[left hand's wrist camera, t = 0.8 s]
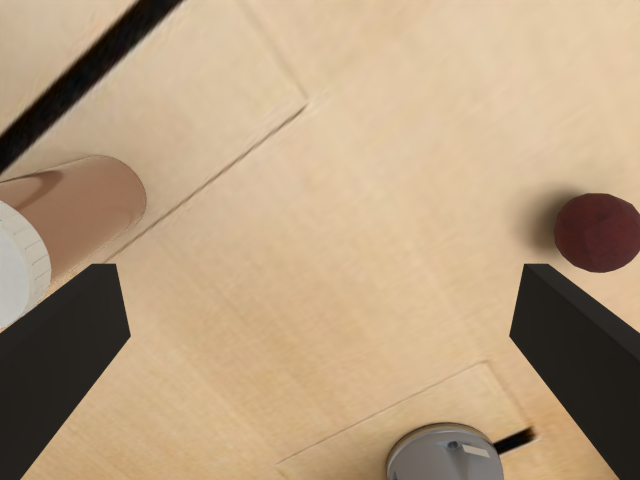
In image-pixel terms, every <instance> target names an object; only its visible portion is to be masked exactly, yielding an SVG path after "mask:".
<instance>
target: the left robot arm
mask: <svg viewBox="0 0 640 480" xmlns="http://www.w3.org/2000/svg"><path fill="white" fill-rule="evenodd" d="M130 337H131V335H130V330H129V325H128V320H127V316H126V311H125V306H124V301H123V296H122V291H121V286H120V282H119V277H118V272H117V267H116V264H91V265H90V266H88V267H87V268H86V269H84V270H83V271H82V272H80V273H79V274H78V275H76V276H75V277H74V278H73V279H71V280H70V281H69V282H67V283H66V284H65V285H63V286H62V287H61V288H59V289H58V290H57V291H55V292H54V293H53V294H51V295H50V296H49V297H47V298H46V299H45V300H44V301H42V302H41V303H40V304H38V305H37V306H36V307H34V308H33V309H32V310H30V311H29V312H28V313H26V314H25V315H24V316H22V317H21V318H20V319H18V320H17V321H16V322H15V323H13V324H12V325H11V326H9V327H8V328H7V329H5V330H4V331H3V332H1V333H0V480H20V479H21V478H22V477H23V475H24V474H25V473H26V471H27V470H28V469H29V468H30V466H31V465H32V464H33V462H34V461H35V460H36V458H37V457H38V456H39V455H40V453H41V452H42V451H43V449H44V448H45V447H46V446H47V444H48V443H49V442H50V440H51V439H52V438H53V436H54V435H55V434H56V433H57V431H58V430H59V429H60V427H61V426H62V425H63V423H64V422H65V421H66V420H67V418H68V417H69V416H70V414H71V413H72V412H73V411H74V409H75V408H76V407H77V405H78V404H79V403H80V401H81V400H82V399H83V398H84V396H85V395H86V394H87V392H88V391H89V390H90V388H91V387H92V386H93V385H94V383H95V382H96V381H97V379H98V378H99V377H100V376H101V374H102V373H103V372H104V370H105V369H106V368H107V366H108V365H109V364H110V363H111V361H112V360H113V359H114V357H115V356H116V355H117V353H118V352H119V351H120V350H121V348H122V347H123V346H124V344H125V343H126V342H127V340H128V339H129V338H130ZM509 337H510V338H511V339H512V340H513V342H514V343H515V344H516V346H517V347H518V348H519V350H520V351H521V352H522V353H523V355H524V356H525V357H526V359H527V360H528V361H529V363H530V364H531V365H532V366H533V368H534V369H535V370H536V372H537V373H538V374H539V376H540V377H541V378H542V379H543V381H544V382H545V383H546V385H547V386H548V387H549V388H550V390H551V391H552V392H553V394H554V395H555V396H556V398H557V399H558V400H559V401H560V403H561V404H562V405H563V407H564V408H565V409H566V411H567V412H568V413H569V414H570V416H571V417H572V418H573V420H574V421H575V422H576V423H577V425H578V426H579V427H580V429H581V430H582V431H583V433H584V434H585V435H586V436H587V438H588V439H589V440H590V442H591V443H592V444H593V446H594V447H595V448H596V449H597V451H598V452H599V453H600V455H601V456H602V457H603V458H604V460H605V461H606V462H607V464H608V465H609V466H610V468H611V469H612V470H613V471H614V473H615V474H616V475H617V477H618V478H619V479H620V480H640V333H639V332H637V331H636V330H635V329H633V328H632V327H631V326H629V325H628V324H627V323H625V322H624V321H623V320H622V319H620V318H619V317H618V316H616V315H615V314H614V313H612V312H611V311H610V310H608V309H607V308H606V307H604V306H603V305H602V304H600V303H599V302H598V301H596V300H595V299H594V298H593V297H591V296H590V295H589V294H587V293H586V292H585V291H583V290H582V289H581V288H579V287H578V286H577V285H575V284H574V283H573V282H571V281H570V280H569V279H567V278H566V277H565V276H564V275H562V274H561V273H560V272H558V271H557V270H556V269H554V268H553V267H552V266H550V265H549V264H524V267H523V272H522V277H521V282H520V286H519V291H518V296H517V301H516V306H515V311H514V316H513V320H512V325H511V330H510V335H509Z"/></svg>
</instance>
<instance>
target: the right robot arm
mask: <svg viewBox="0 0 640 480" xmlns="http://www.w3.org/2000/svg"><path fill="white" fill-rule="evenodd" d="M386 472H387V478H388V480H504V475H503V468H502V464H501V461H500V458H499V455H498V453H497V451H496V449H495V447H494V445H493V443H492V442H491V441H490V439H489V438H488V437H487V436H485V435H484V434H483V433H481V432H480V431H478V430H476V429H474V428H471V427H468V426H465V425H460V424H449V423H446V424H435V425H430V426H426V427H423V428H420V429H418V430H416V431H414V432H412V433H410V434H408V435H407V436H405V437H404V438H403V439H401V440H400V441H399V442H398V443H397V444H396V445H395V446H394V448H393V449H392V450H391V452H390V454H389V456H388V459H387V464H386Z"/></svg>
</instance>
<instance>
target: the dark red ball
mask: <svg viewBox="0 0 640 480" xmlns="http://www.w3.org/2000/svg"><path fill="white" fill-rule="evenodd" d="M554 234H555V243H556V246H557V248H558V249H559V251H560V252H561V254H562V255H563V256H564V257H565V258H566V259H567V260H568V261H569V262H570V263H571V264H573V265H574V266H576V267H579V268H581V269H584V270H587V271H589V272H596V273H605V272H609V271H614V270H616V269H619V268H621V267H623V266H625V265H626V264H628V263H629V262H631V261H632V260H633V259H634V257H635V256H636V255H637V254H638V252H639V251H640V214H639V213H638V211H637V210H636V209H635V207H634V206H633V205H632V204H630V203H628V202H626V201H624V200H622V199H620V198H617V197H615V196H612V195H610V194H602V193H587V194H584V195H581V196H579V197H576V198H574V199H572V200H571V201H569V202H568V203H567V204H566V205H565V206H564V207H563V208H562V210H561V212H560V213H559V215H558V218H557V222H556V225H555V229H554Z"/></svg>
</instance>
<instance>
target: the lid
mask: <svg viewBox="0 0 640 480" xmlns="http://www.w3.org/2000/svg"><path fill="white" fill-rule="evenodd" d="M51 271H52V269H51V264H50V258H49V254H48V252H47V249H46V247H45V245H44V242H43V240H42V239H41V237H40V236H39V234H38V232H37V231H36V230H35V229H34V227H33V226H32V225H31V224H30V223H29V222H28V221H27V220H26V219H25V218H24V217H23V216H22V215H21V214H20V213H19V212H17V211H16V210H15V209H13V208H12V207H10V206H9V205H7V204H6V203H4V202H3V201H0V329H1V328H3V327H5V326H8V325H9V324H12V323H13V322H14V321H16V320H17V319H18V318H20V317H22V316H24V315H25V314H26V313H28V312H29V311H30V310H32V309H33V308H34V307H36V306H37V305H38V304H37V303H38V302H39V301H40V300H41V299H42V298H43V297H44V296H45V293H46V291H47V289H48V287H49V285H50V279H51Z"/></svg>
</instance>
